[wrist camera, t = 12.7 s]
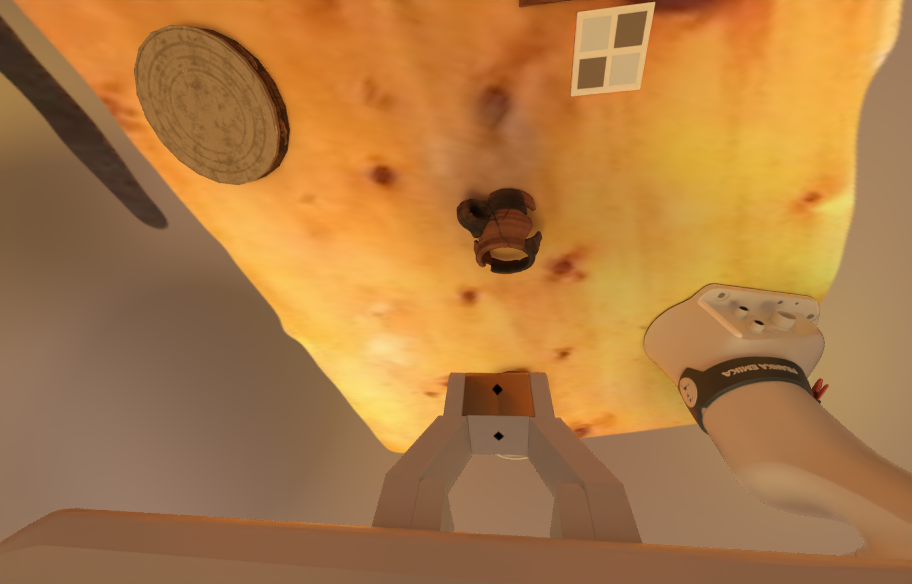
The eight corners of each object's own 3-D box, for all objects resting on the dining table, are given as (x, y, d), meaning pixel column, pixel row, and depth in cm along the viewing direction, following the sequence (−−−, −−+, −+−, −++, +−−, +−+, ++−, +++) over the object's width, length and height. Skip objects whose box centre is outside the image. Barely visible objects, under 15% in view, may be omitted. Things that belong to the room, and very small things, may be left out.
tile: (653, 2, 31) (655, 1, 31) (638, 89, 35) (640, 89, 34) (576, 12, 32) (577, 12, 32) (570, 96, 36) (570, 96, 35)
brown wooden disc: (308, 175, 43) (296, 181, 41) (199, 182, 45) (182, 188, 43) (260, 20, 35) (242, 15, 32) (128, 36, 37) (102, 33, 34)
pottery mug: (555, 201, 42) (559, 255, 39) (511, 237, 50) (511, 285, 46) (475, 161, 38) (471, 218, 34) (440, 207, 45) (433, 258, 42)
